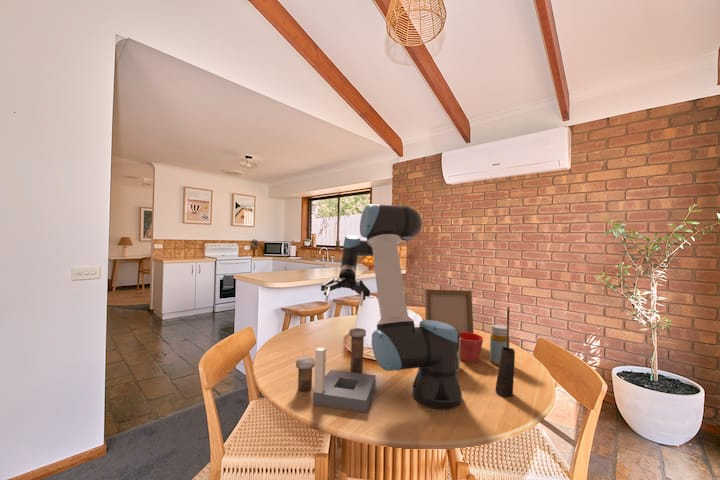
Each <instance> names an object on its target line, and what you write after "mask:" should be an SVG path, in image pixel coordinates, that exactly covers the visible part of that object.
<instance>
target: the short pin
mask: <svg viewBox="0 0 720 480" xmlns="http://www.w3.org/2000/svg"><path fill="white" fill-rule="evenodd" d="M295 361H296V362H295V367H296V368H297V369H298V373H297V375H298V376H297V377H298V378H297V390H298V391H299V392H301V393H306V392H309V391H311V390H312V388H313V387H312V386H313V383H312V382H313V368H315V359H314V358H313V357H310V356H304V357H299V358H298V359H296V360H295Z"/></svg>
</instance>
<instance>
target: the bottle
mask: <svg viewBox="0 0 720 480" xmlns="http://www.w3.org/2000/svg"><path fill="white" fill-rule="evenodd" d="M489 341H490V344H489V346H490V347H489V361H490V362H491V363H492V364H493V365H495V366H497V367H499V363H500V357H501V350H502V347H507V325H504V324H498V323H497V324H496V323H495V324H492V325H491V334H490V340H489ZM508 343H509V344H510V341H509V342H508Z"/></svg>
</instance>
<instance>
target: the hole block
mask: <svg viewBox="0 0 720 480" xmlns="http://www.w3.org/2000/svg"><path fill="white" fill-rule="evenodd" d="M314 354H315V357H314V358H315V359H314V360H315V366H314V390H313V392H312V405H314V406H321V407H326V408H334V409H339V410H345V411H351V412H352V411H353V412H357V413H359V412H360V413H363V414H366V413H367V410H368V407H369V406H370V402H371V399H372V396H373V394H374V391H375V388H376V380H377V379H376V376H377V375H374V374H368V373H363V374H361V373H354V372H351V371H346V370H345V371H344V370H337V369H331V368H330V369H329V371H328V372H327V373H326V359H327V356H326V355H327V348H326V347H317V348H316V349H315V353H314Z"/></svg>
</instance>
